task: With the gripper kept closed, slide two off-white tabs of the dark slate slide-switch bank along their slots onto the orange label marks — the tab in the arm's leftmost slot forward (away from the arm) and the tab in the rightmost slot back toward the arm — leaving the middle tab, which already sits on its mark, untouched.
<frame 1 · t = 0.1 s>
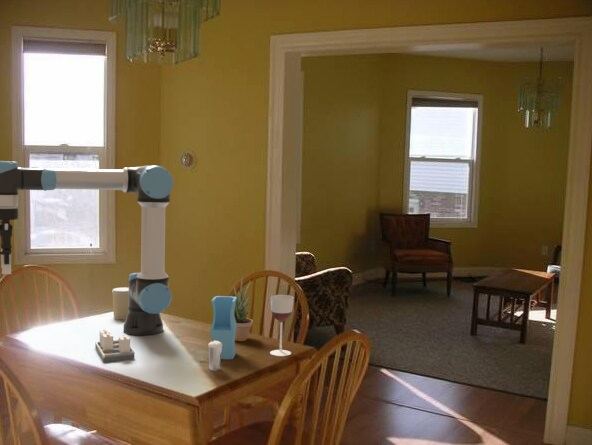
hand: (6, 270, 208), 28 cm above the table, fingers open, 13 cm apart
wineglass: (280, 353, 220), on the table
vase: (223, 356, 215), on the table
switch bank: (114, 353, 213), on the table
tab b: (105, 337, 216), point 4 cm above the table, slide at 2.3 cm
tab a: (124, 344, 209), point 4 cm above the table, slide at -2.3 cm
potted plant: (239, 339, 237), on the table
tab c: (107, 341, 211), point 4 cm above the table, slide at 2.3 cm
milkshake: (213, 370, 200), on the table
coffee cup: (123, 317, 265), on the table
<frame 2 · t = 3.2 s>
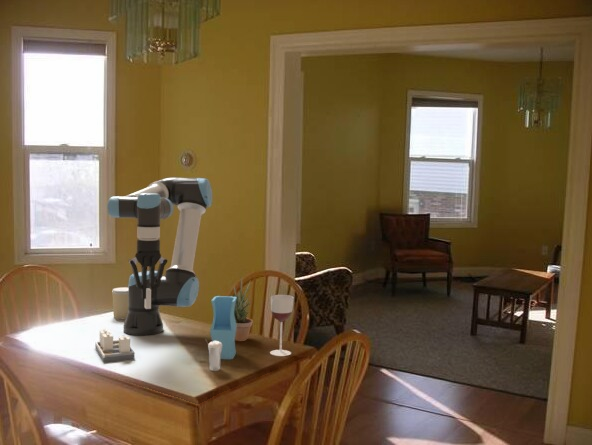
hand: (147, 307, 211), 16 cm above the table, fingers closed
nothing on the table moved.
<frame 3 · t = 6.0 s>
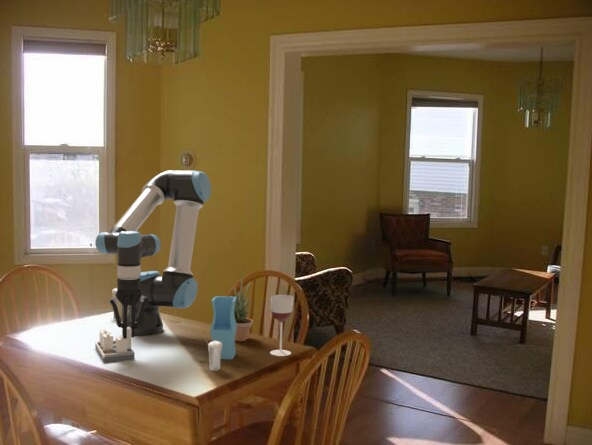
hand: (128, 346, 209), 3 cm above the table, fingers closed
tab a: (121, 344, 208), point 4 cm above the table, slide at -1.3 cm, touching gripper
everything else where it was.
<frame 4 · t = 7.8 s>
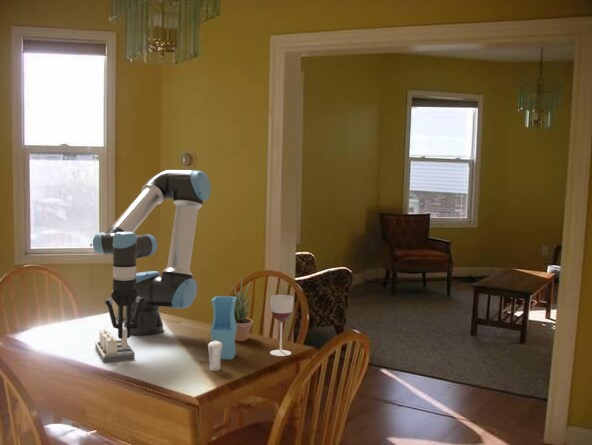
hand: (124, 347, 209), 3 cm above the table, fingers closed
tab a: (111, 345, 207), point 4 cm above the table, slide at 1.9 cm
everything else where it was.
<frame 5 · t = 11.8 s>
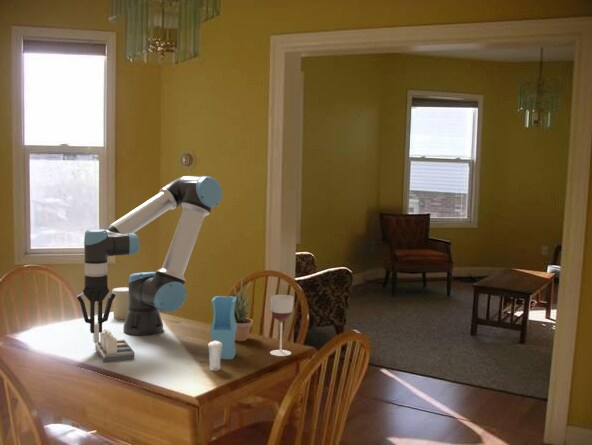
hand: (96, 341, 215), 3 cm above the table, fingers closed
tab b: (105, 337, 216), point 4 cm above the table, slide at 2.1 cm, touching gripper
everything else where it was.
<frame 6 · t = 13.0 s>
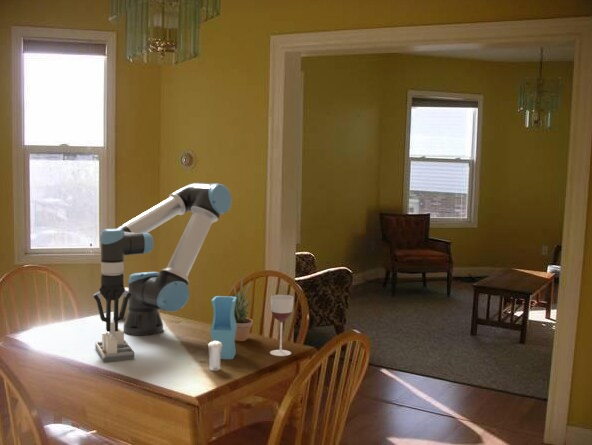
hand: (111, 340, 217), 3 cm above the table, fingers closed
tab b: (118, 336, 218), point 4 cm above the table, slide at -2.3 cm, touching gripper
everything else where it was.
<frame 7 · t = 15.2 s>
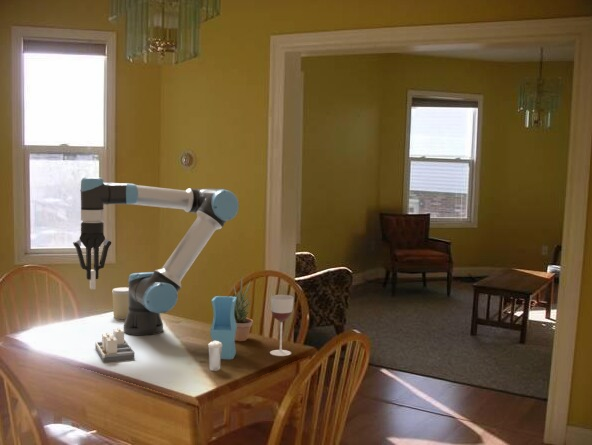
hand: (92, 288, 218), 21 cm above the table, fingers closed
tab b: (118, 336, 218), point 5 cm above the table, slide at -2.4 cm
everything else where it was.
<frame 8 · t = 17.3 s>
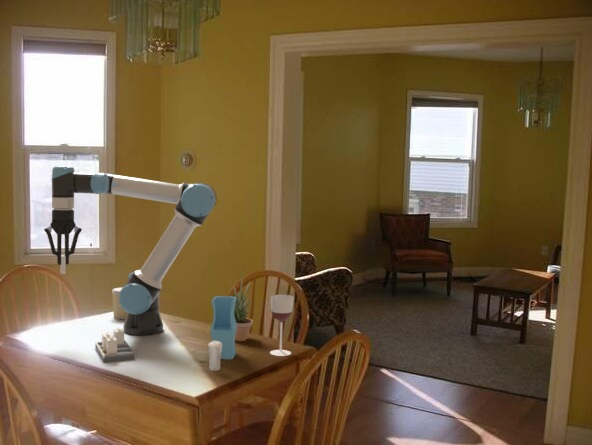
hand: (63, 273, 227), 24 cm above the table, fingers closed
nothing on the table moved.
at the end: tab a slide at 1.9 cm; tab b slide at -2.4 cm; tab c slide at 2.3 cm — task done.
